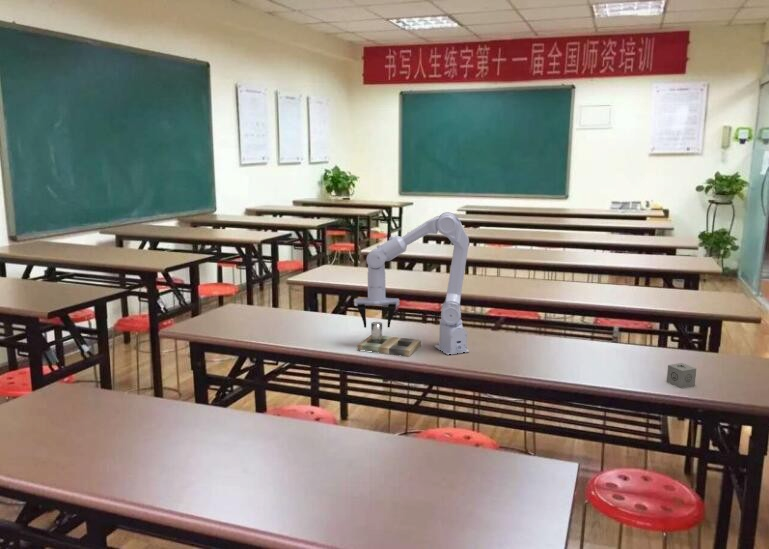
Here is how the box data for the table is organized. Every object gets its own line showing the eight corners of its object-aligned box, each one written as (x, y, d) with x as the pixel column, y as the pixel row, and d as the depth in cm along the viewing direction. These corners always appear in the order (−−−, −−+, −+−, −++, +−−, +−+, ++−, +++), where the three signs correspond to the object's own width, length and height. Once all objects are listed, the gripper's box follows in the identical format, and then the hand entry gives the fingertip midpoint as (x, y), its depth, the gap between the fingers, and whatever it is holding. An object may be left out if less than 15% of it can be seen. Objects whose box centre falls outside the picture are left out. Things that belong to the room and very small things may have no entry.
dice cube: (680, 379, 176) (681, 362, 175) (694, 385, 171) (696, 368, 170) (666, 382, 174) (668, 365, 173) (680, 388, 170) (682, 370, 169)
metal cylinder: (383, 347, 205) (383, 324, 203) (373, 348, 203) (373, 325, 202) (379, 344, 208) (379, 321, 206) (369, 345, 207) (369, 322, 205)
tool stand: (420, 345, 207) (420, 339, 206) (409, 356, 196) (409, 350, 195) (371, 340, 213) (371, 334, 212) (357, 350, 202) (357, 344, 201)
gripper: (353, 288, 198) (354, 330, 200) (399, 288, 198) (399, 329, 200) (354, 284, 205) (355, 324, 207) (398, 283, 205) (398, 323, 207)
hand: (376, 326), depth 204 cm, fingers open, 7 cm apart
